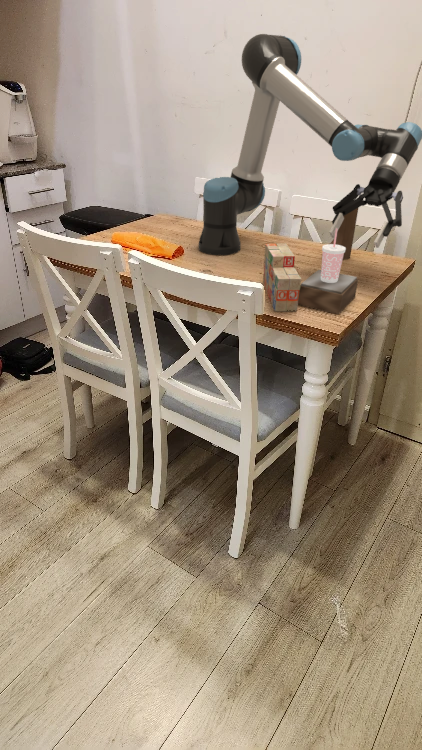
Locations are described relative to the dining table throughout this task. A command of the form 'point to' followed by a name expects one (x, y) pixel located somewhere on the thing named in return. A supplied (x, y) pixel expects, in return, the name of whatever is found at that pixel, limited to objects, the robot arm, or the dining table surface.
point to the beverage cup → (331, 261)
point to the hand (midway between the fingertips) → (353, 239)
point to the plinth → (327, 293)
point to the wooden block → (347, 233)
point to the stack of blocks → (281, 277)
